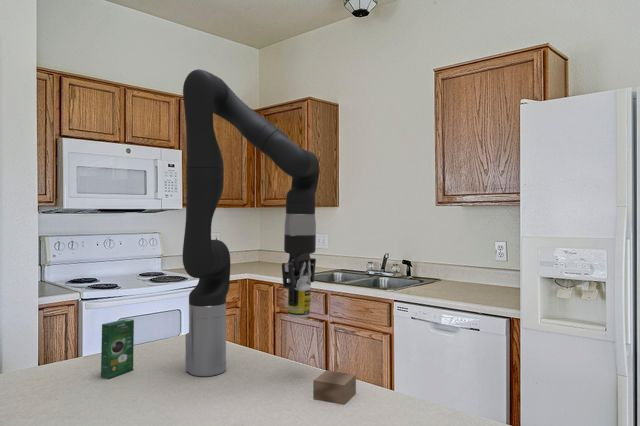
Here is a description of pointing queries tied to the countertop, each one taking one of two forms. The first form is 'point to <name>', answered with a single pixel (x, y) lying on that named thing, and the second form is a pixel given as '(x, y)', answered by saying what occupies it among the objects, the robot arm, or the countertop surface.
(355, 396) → the mat
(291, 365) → the countertop surface
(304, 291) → the supplement bottle
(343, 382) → the walnut block
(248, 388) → the countertop surface
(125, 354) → the coffee box
